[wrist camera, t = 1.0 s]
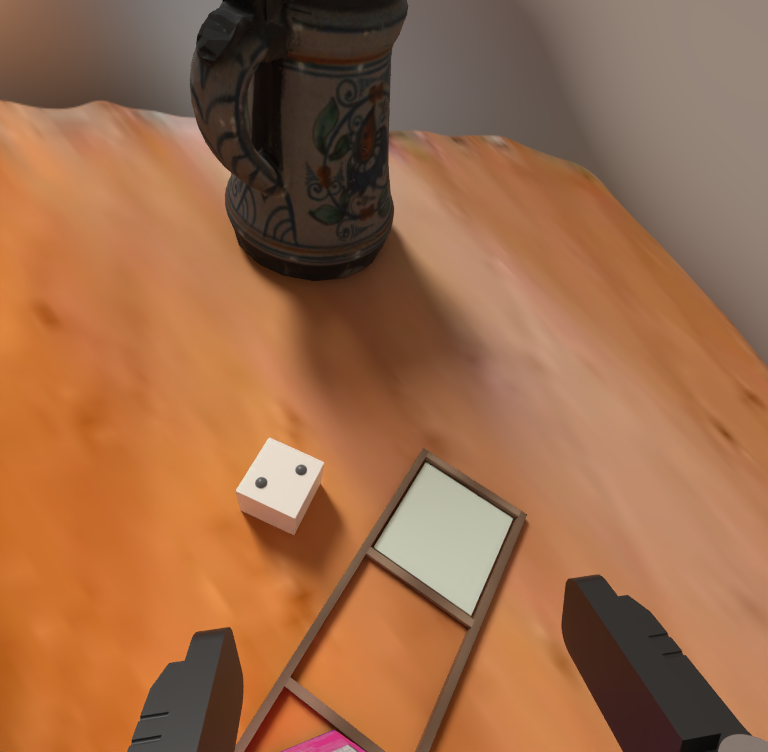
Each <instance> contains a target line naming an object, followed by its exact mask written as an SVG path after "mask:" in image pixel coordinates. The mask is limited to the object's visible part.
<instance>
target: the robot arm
mask: <svg viewBox="0 0 768 752" xmlns="http://www.w3.org/2000/svg"><path fill="white" fill-rule="evenodd" d="M562 634H563V638H564V642H565V645H566V647H567V650H568V652H569V654H570V656H571V658H572V660H573V661H574V663H575V665H576V667H577V669H578V671H579V672H580V674H581V676H582V678H583V680H584V681H585V683H586V685H587V687H588V689H589V691H590V692H591V694H592V696H593V698H594V700H595V701H596V703H597V705H598V707H599V709H600V711H601V712H602V714H603V716H604V718H605V720H606V721H607V723H608V725H609V727H610V729H611V731H612V732H613V734H614V736H615V738H616V740H617V742H618V743H619V745H620V747H621V749H622V751H623V752H768V742H767V741H764V740H762V739H760V738H757V737H754V736H752V735H751V734H750V733H749V732H748V731H747V730H746V729H745V728H744V727H743V725H742V724H741V723H740V722H739V721H738V719H737V718H736V717H735V716H734V714H733V713H732V712H731V711H730V710H729V708H728V707H727V706H726V705H725V703H724V702H723V701H722V700H721V698H720V697H719V696H718V695H717V693H716V692H715V691H714V690H713V689H712V687H711V686H710V685H709V684H708V682H707V681H706V680H705V679H704V677H703V676H702V675H701V674H700V672H699V671H698V670H697V669H696V667H695V666H694V665H693V664H692V663H691V661H690V660H689V659H688V658H687V656H686V655H683V653H682V650H681V649H680V648H679V646H678V645H677V644H676V643H675V642H674V640H673V639H672V638H671V637H669V636H668V633H667V632H666V630H665V629H664V628H663V627H662V625H661V624H660V623H659V622H658V620H657V619H656V618H655V617H654V616H653V614H652V613H651V612H650V611H649V610H647V609H646V608H645V607H643V606H642V605H641V604H639V603H638V602H637V601H635V600H634V599H632V598H631V597H630V596H628V595H625V596H617V594H616V593H615V592H614V590H613V589H612V588H611V586H610V585H609V584H608V582H607V581H606V580H605V579H604V578H603V577H602V576H600V575H591V576H584V577H578V578H571V579H568V580H567V582H566V586H565V595H564V605H563V614H562ZM242 703H243V674H242V669H241V665H240V661H239V657H238V652H237V648H236V644H235V640H234V636H233V632H232V629H231V628H230V627H227V628H220V629H213V630H206V631H199V632H196V633H195V634H194V635H193V637H192V640H191V643H190V646H189V649H188V652H187V656H186V659H185V661H180V662H173V663H169V664H168V665H167V667H166V668H165V669H164V671H163V672H162V673H161V675H160V676H159V677H158V679H157V680H156V682H155V683H154V684H153V686H152V687H151V688H150V691H149V694H148V697H147V699H146V702H145V705H144V708H143V710H142V713H141V716H140V717H141V718H140V722H138V724H137V727H136V729H135V732H134V735H133V738H132V744H131V746H129V748H128V751H127V752H234V751H235V745H236V739H237V733H238V727H239V721H240V715H241V709H242Z"/></svg>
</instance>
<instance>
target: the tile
mask: <svg viewBox="0 0 768 752" xmlns="http://www.w3.org/2000/svg"><path fill="white" fill-rule="evenodd" d="M512 520H513V518H511V517H510V516H508V515H507V514H505V513H504V512H502V511H501V510H499V509H498V508H496V507H494V506H493V505H491V504H490V503H488V502H487V501H485V500H484V499H482V498H481V497H479V496H477V495H476V494H474V493H473V492H471V491H470V490H468V489H467V488H465V487H464V486H462V485H460V484H459V483H457V482H456V481H454V480H453V479H451V478H450V477H448V476H447V475H445V474H444V473H442V472H440V471H439V470H437V469H436V468H434V467H433V466H431V465H430V464H428V463H427V462H425V464H424V466H423V467H422V469H421V471H420V472H419V474H418V476H417V477H416V479H415V480H414V482H413V484H412V485H411V487H410V489H409V490H408V492H407V493H406V495H405V497H404V498H403V500H402V502H401V503H400V505H399V507H398V508H397V510H396V511H395V513H394V515H393V516H392V518H391V520H390V521H389V523H388V524H387V526H386V528H385V529H384V531H383V533H382V534H381V536H380V538H379V539H378V541H377V542H376V544H375V546H374V547H373V548H374V549H375V550H377V551H378V552H380V553H381V554H382V555H384V556H385V557H387V558H388V559H389V560H391V561H392V562H394V563H395V564H397V565H398V566H399V567H401V568H402V569H404V570H405V571H407V572H408V573H409V574H411V575H412V576H414V577H415V578H417V579H418V580H419V581H421V582H422V583H424V584H425V585H427V586H428V587H429V588H431V589H432V590H434V591H435V592H437V593H438V594H439V595H441V596H442V597H444V598H445V599H447V600H448V601H449V602H451V603H452V604H454V605H455V606H457V607H458V608H459V609H461V610H462V611H464V612H465V613H467V614H468V615H469V616H471V615H472V612H473V610H474V608H475V606H476V603H477V601H478V599H479V596H480V594H481V592H482V589H483V587H484V585H485V582H486V580H487V578H488V575H489V573H490V571H491V569H492V566H493V564H494V562H495V559H496V557H497V555H498V552H499V550H500V548H501V545H502V543H503V541H504V538H505V536H506V534H507V532H508V529H509V527H510V525H511V522H512Z"/></svg>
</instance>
